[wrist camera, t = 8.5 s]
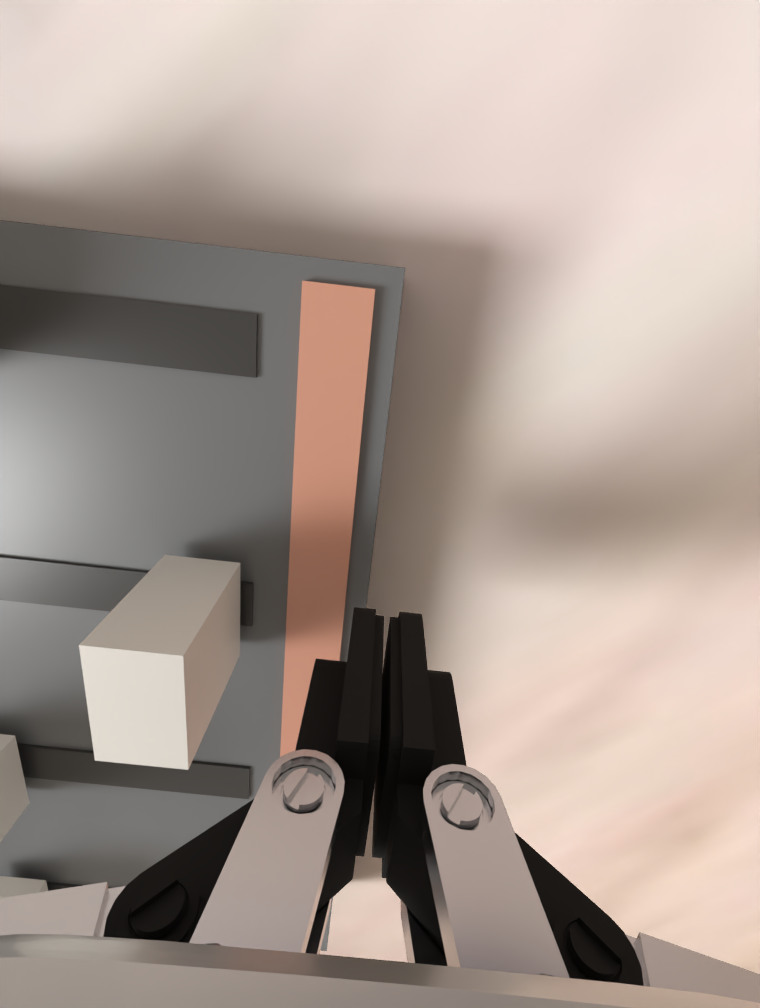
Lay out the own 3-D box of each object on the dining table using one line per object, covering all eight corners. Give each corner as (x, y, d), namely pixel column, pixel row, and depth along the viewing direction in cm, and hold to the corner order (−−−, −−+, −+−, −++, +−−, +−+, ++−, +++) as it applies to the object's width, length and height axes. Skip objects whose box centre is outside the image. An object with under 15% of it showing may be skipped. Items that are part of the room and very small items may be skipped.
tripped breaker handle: (240, 562, 13) (183, 655, 9) (239, 654, 14) (188, 769, 10) (164, 554, 13) (79, 645, 9) (170, 647, 14) (94, 760, 10)
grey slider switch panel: (402, 276, 13) (412, 240, 7) (333, 883, 22) (310, 1108, 16) (-207, 204, 13) (-785, 97, 6) (-25, 849, 22) (-193, 1064, 15)
